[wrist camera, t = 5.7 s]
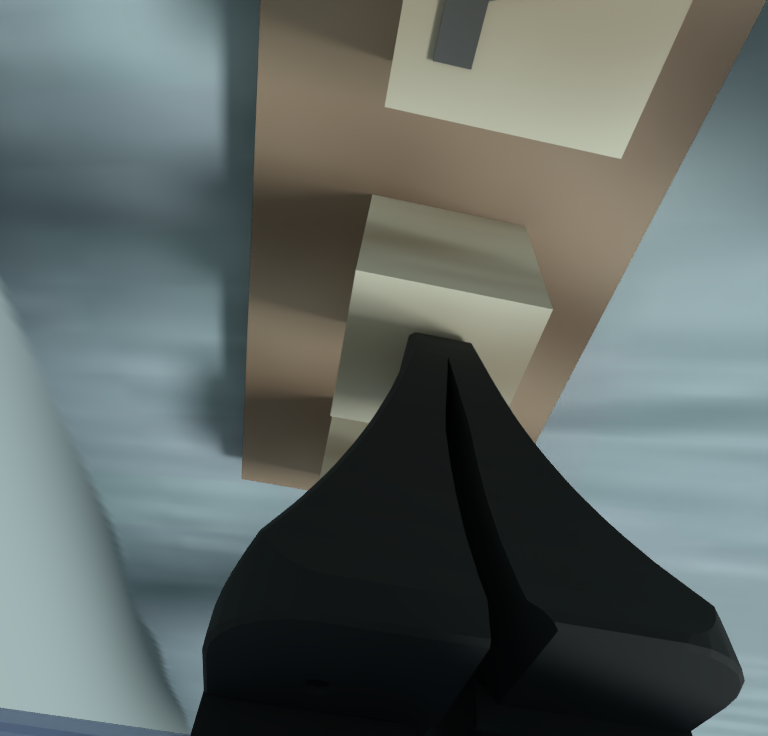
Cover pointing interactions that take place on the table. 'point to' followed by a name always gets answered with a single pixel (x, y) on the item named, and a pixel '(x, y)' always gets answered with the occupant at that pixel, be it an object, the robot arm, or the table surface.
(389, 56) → the walnut board
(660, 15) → the letter t cube
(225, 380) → the table surface
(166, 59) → the table surface
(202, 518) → the table surface
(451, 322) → the plain block
